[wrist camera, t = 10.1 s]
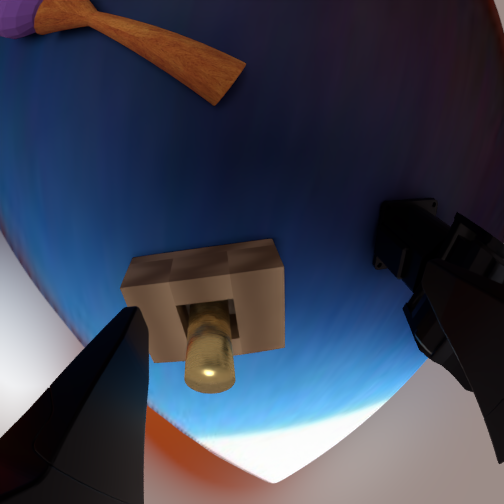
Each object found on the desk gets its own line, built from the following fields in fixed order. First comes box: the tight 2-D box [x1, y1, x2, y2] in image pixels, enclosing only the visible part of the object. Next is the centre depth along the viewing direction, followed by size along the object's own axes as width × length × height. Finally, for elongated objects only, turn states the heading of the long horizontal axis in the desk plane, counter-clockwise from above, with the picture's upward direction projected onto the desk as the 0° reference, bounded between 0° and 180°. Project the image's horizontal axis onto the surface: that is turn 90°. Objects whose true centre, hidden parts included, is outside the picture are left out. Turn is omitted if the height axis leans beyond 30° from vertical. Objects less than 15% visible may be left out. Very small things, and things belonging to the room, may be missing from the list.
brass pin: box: [185, 299, 235, 393], centre depth 19 cm, size 3×3×8 cm
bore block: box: [120, 239, 285, 363], centre depth 21 cm, size 11×8×4 cm
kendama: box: [0, 0, 246, 106], centre depth 10 cm, size 6×6×20 cm
